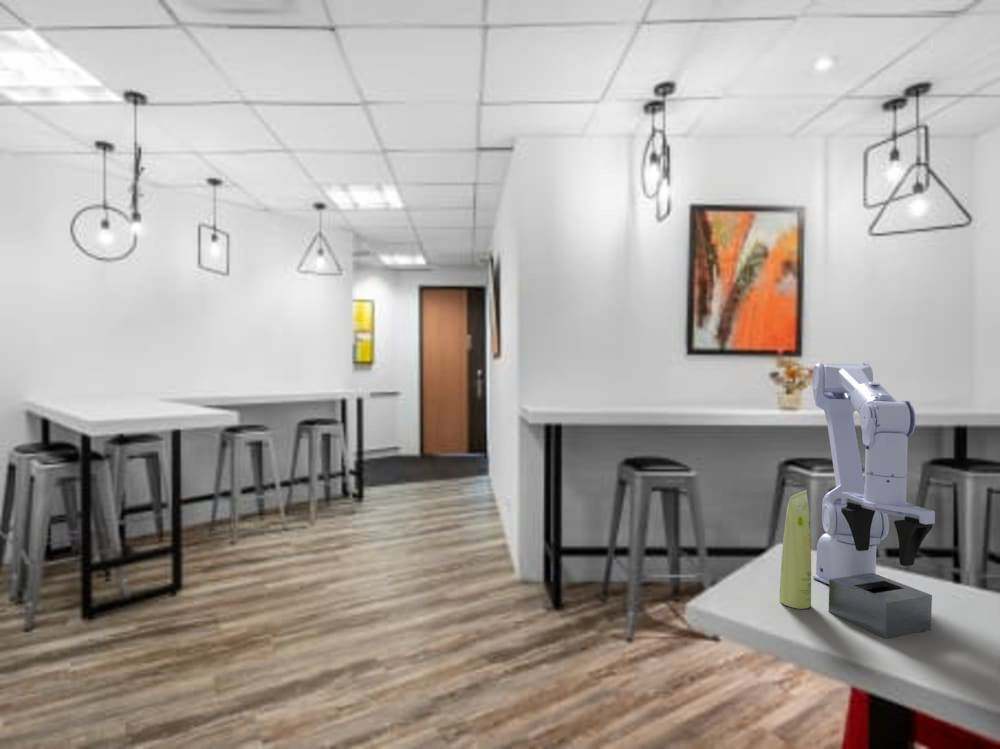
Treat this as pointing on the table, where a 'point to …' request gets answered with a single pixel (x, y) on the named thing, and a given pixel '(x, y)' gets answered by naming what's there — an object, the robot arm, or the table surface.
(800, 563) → the tube
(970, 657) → the table surface
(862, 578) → the box
